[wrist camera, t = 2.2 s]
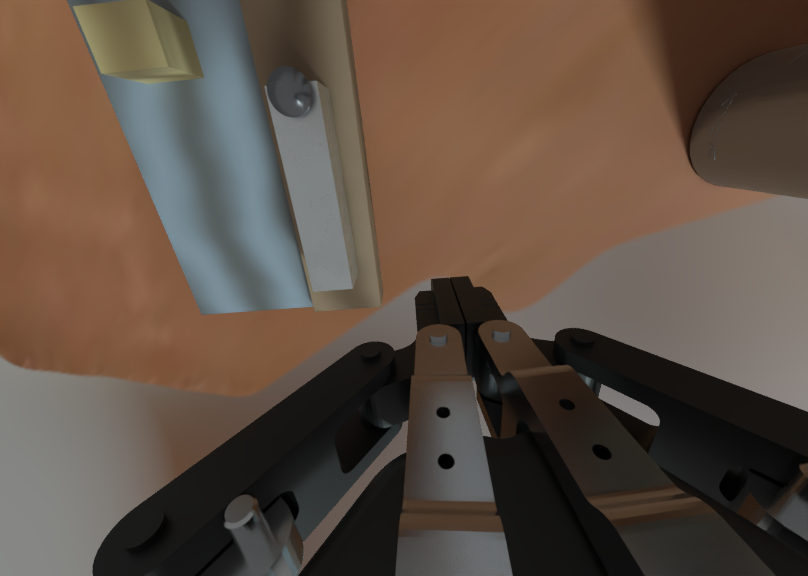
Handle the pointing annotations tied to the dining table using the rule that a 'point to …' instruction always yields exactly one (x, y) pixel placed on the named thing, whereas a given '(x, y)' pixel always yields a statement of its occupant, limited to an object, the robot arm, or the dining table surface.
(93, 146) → the dining table surface
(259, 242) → the latched flap box
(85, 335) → the dining table surface
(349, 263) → the lock bar
